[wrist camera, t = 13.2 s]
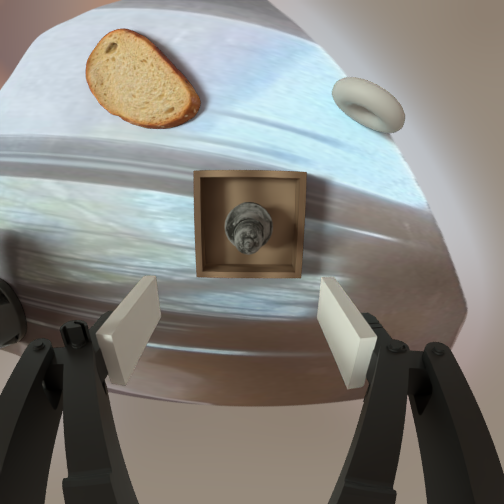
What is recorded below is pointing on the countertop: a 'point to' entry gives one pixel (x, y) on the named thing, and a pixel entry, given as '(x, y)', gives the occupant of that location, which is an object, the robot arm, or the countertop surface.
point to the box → (266, 195)
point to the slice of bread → (139, 82)
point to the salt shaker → (248, 227)
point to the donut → (368, 104)
